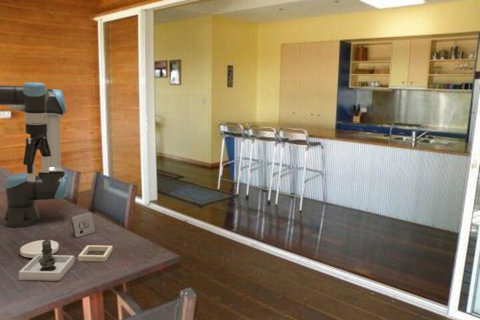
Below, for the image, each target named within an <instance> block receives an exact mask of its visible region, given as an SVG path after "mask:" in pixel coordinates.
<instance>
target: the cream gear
mask: <svg viewBox="0 0 480 320" xmlns="http://www.w3.org/2000/svg"><path fill="white" fill-rule="evenodd" d="M48 240H49V239H48ZM43 241H45V239H43V240H42V239H40V240H35V241H31V242H27V243H26V244H24V245H22V246H21V247H20V249H19V254H20V255H21V257H24V258H28V259H30V258H31V259H33V258H34V257H35V256H36V255H43V252H42V242H43ZM49 241H51V248H52V255H54V254H56V253H57V252H58V251H59V249H60V245H59V243H58V241H55V240H51V239H50V240H49Z"/></svg>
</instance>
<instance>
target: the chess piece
mask: <svg viewBox="0 0 480 320" xmlns="http://www.w3.org/2000/svg"><path fill="white" fill-rule="evenodd" d="M44 240H45V241H43V242H42V252H43V257H42V258H41V259H40V260H39V263H40V265H41V266H42V268H41V269H40V271H53V270H55V269H56V267H55V266H54V264H55V262H56V257H53V256H52V255H53V254H52V248H51V241H49V239H48V238H47V237H45V239H44Z"/></svg>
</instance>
